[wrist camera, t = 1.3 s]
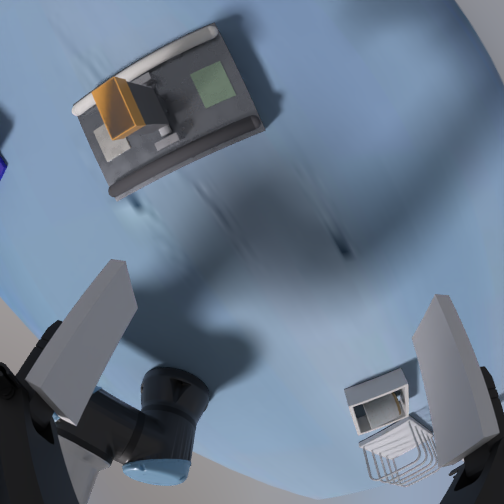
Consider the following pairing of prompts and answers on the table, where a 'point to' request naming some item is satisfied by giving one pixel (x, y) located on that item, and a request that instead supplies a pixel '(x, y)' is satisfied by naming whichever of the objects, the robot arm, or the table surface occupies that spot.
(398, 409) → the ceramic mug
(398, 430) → the file sorter
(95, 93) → the lever
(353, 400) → the mug tray
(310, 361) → the table surface
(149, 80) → the breaker panel
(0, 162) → the stapler
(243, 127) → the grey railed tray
